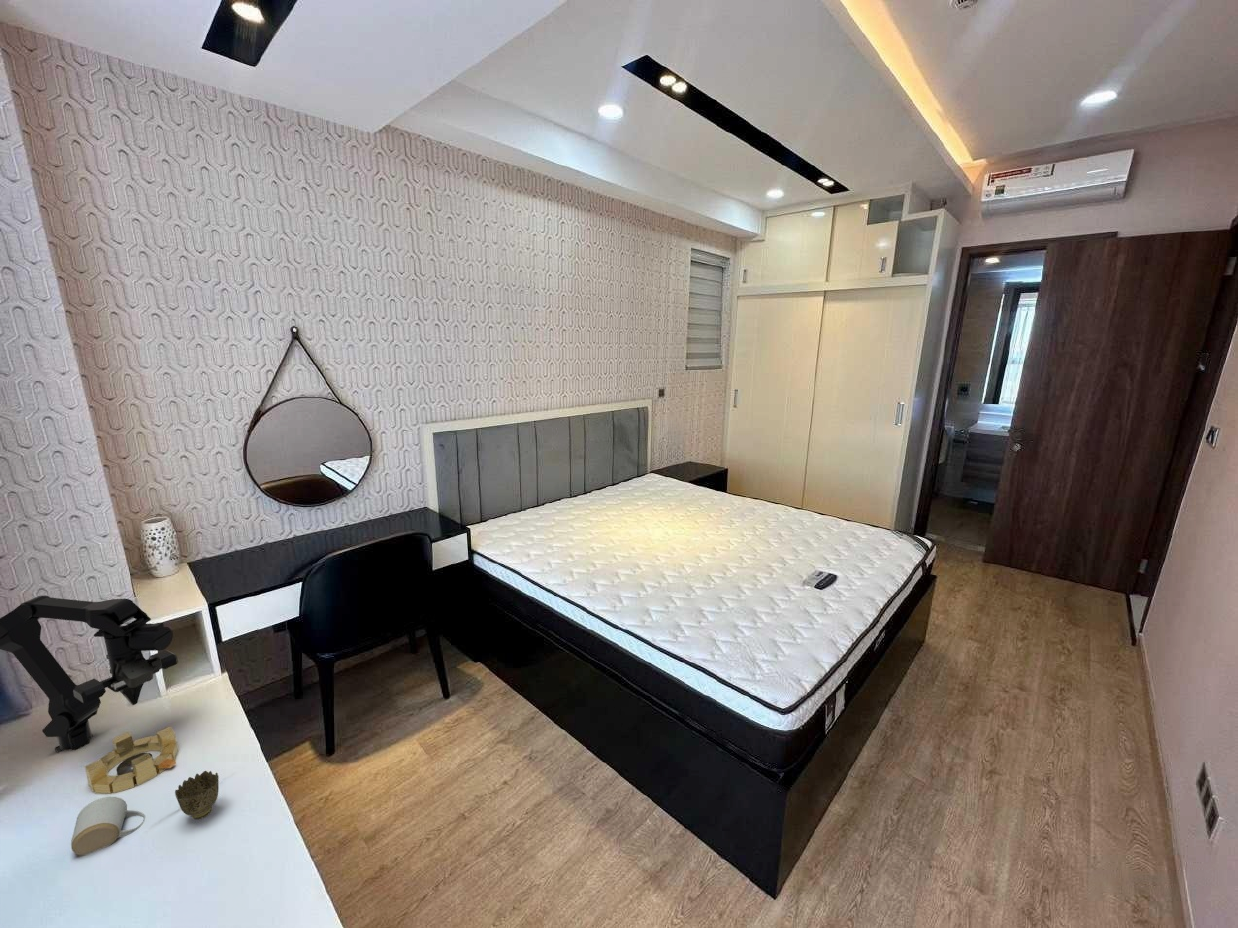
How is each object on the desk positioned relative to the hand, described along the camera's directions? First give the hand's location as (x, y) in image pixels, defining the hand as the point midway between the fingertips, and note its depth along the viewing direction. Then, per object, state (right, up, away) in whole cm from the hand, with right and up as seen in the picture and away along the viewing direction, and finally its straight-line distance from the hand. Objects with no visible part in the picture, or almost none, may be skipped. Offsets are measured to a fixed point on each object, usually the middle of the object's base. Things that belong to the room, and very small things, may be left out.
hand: (134, 704), depth 131 cm
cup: (+32, -17, -17) cm, 40 cm away
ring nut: (+7, -12, -7) cm, 15 cm away
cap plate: (+7, -14, -6) cm, 16 cm away
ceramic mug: (+17, -18, -23) cm, 34 cm away
